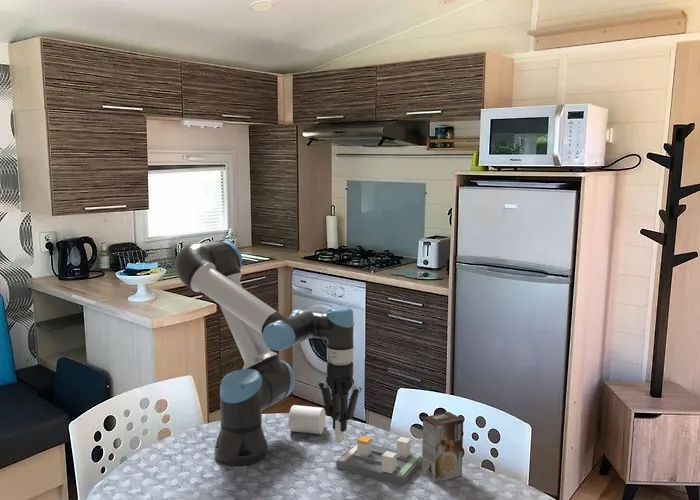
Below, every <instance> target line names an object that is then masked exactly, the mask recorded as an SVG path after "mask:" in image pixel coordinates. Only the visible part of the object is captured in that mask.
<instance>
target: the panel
mask: <svg viewBox="0 0 700 500" xmlns="http://www.w3.org/2000/svg"><path fill="white" fill-rule="evenodd" d="M386 451H390V452H394V453H396V451H397V449H392V448H388V447H385V446H380V445H376V444H372V445H371V454H370V455H369V456H368V457H365V456H361V455H357V442H356V443H355V444H353V446H352V447H350V448H349V449H348V450H347V451H346V452H345V453H344V454H342V455H341V456H340V457H338V459H337V460H336V461H335V464H336V465H335V466H336V467H335V468H336V469H340V470H344V471H347V472H350V473H354V474H357V475H361V476H365V477H369V478H372V479H376V480H379V481H384V482H387V483H391V484H393V485H397V486H401V487H404V486H405V485H406V484H407V482H408V481H409V480H411V478H412V476H413V475H414V474H416V471H417V470H418V469H419V468H420V467H422V455H416V454H413V453H410V455H409V456H408V457H407V458H406V457H402V456H398V455H397V465H396V470H395V471H394V472H393V473H392V474H391V473H387V472H384V471H382V455H383V454H384V453H385V452H386Z"/></svg>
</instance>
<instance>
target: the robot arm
mask: <svg viewBox="0 0 700 500" xmlns="http://www.w3.org/2000/svg"><path fill="white" fill-rule="evenodd" d="M242 263H243V257H242V253H241V251H240V250H239V248H238V247H237V246H236V245H235V244H234V243H232V242H230V241H227V240H212V241H207V242H200V243H192V244H187V245H186V246H184V247H183V248H181V250H180V251H179V252H178V253H177V256H176V257H175V261H174V269H175V270H174V271H175V273H176V275H177V277H178V279H179V280H180V281H181V282H182V283H183V284H184V285H185V286H186V287H187V288H189V289H190V290H191V291H193V292H195V293H202V294H204V295H205V296H206V297H208V298H209V299H211V300H212V301H214V302H215V303H216V304H218V305H219V307H220V308H221V311H222V313H223V316H224V318H225V320H226V323H227V325H228V328H229V330H230V331H231V334H232V337H233V339H234V342H235V343H236V346H237V348H238V350H239V354H240V355H241V357H242V360H243V362H244V364H243V367H242V369H239V370H238V369H236V370H233V371H231V372H228V373H227V374H226V375H224V376H223V377H222V379H221V381H220V387H219V389H220V390H219V409H220V410H219V411H220V429H219V434H218V436H217V438H216V442H215V446H214V457H215V459H216V460H217V461H218V462H219V463H221V464H224V465H228V466H246V465H247V466H248V465H250V464H255V463H257V462H260V461H262V460H263V459H265V458H266V456H267V455H268V452H269V447H268V446H269V445H268V441H267V439H266V435H265V432H264V430H263V426H262V424H263V423H262V422H263V421H262V419H263V418H262V417H263V416H262V413H263V412H262V411H265V410H267V409H268V408H269V407H272V406H273V405H274V404H277V403H280V402H281V401H283V400H284V399H285V398H286V397H288V396H289V395H290V394H291V393H292V391H293V390H294V386H295V382H296V380H295V379H296V378H295V377H296V376H295V373H294V369H293V368H292V366H291V365H290V364H289V363H288V362H286V361H285V360H281V359H280V357H279V355H278V353H277V352H278V351H282V350H286V349H289V348H290V347H293V346H295V345H296V344H299V343H301V342H303V341H306V340H308V339H312V338H313V339H322V340H326V360H327V362H326V378H325V380H322V381H321V382H318V387H319V389H320V391H321V394H322V398H323V399H322V400H323V404H324V409H325V415H326V416H327V417H331V419H332V429H333V431H334V443H338V444H340V443H342V442H343V441H345V432H346V430H347V429H348V421H349V420H351V419H352V418H353V417H354V416H355V415H354V414H355V410H356V407H357V401H358V397H359V394H360V393H361V392H362V390H363V389H362V387H360V386H359V387H358V386H357V385H356V384H355V380H354V377H353V376H354V362H353V361H354V326H355V322H354V310H353V309H352V308H350V307H349V306H344V305H342V306H341V305H340V306H339V305H334V306H330V307H328V308H327V311H326V312H321V311H315V310H309V309H294V310H292V313H290V314H289V316H288V317H286V316H285V315H283V314H281V313H280V312H278V311H277V310H276V309H274V308H273V307H271V306H270V305H268V304H267V303H266V302H264V301H262V300H261V299H259V298H258V297H257V296H255V295H253V294H252V293H250V292H249V291H248V290H246V289H245V288H244V287H243V286H242V283H241V278H242V276H243V274H242V272H241V269H242V266H243V264H242ZM274 351H275V352H274ZM350 390H351V391H350ZM349 391H350V393H351V395H350V397H349ZM348 397H349V401H348Z"/></svg>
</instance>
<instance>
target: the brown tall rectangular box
mask: <svg viewBox="0 0 700 500" xmlns="http://www.w3.org/2000/svg"><path fill="white" fill-rule="evenodd" d="M463 437H464V419H463V418H461V417H460V416H457V415H456V414H454V413H452V412H450V411H447V412H442V413H437V414H432V415H428V416H423V417H422V448H421V451H422V452H421V453H422V454H421V457H422V465H421V474H422V475H424V476H426V477H427V478H428V479H429V480H430V481H432V482H433V483H434V484H437V483H440V482H444V481H448V480H451V479H454V478H457V477H458V478H459V477H461V476H462V475H463V443H464V442H463V440H464V438H463Z"/></svg>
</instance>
